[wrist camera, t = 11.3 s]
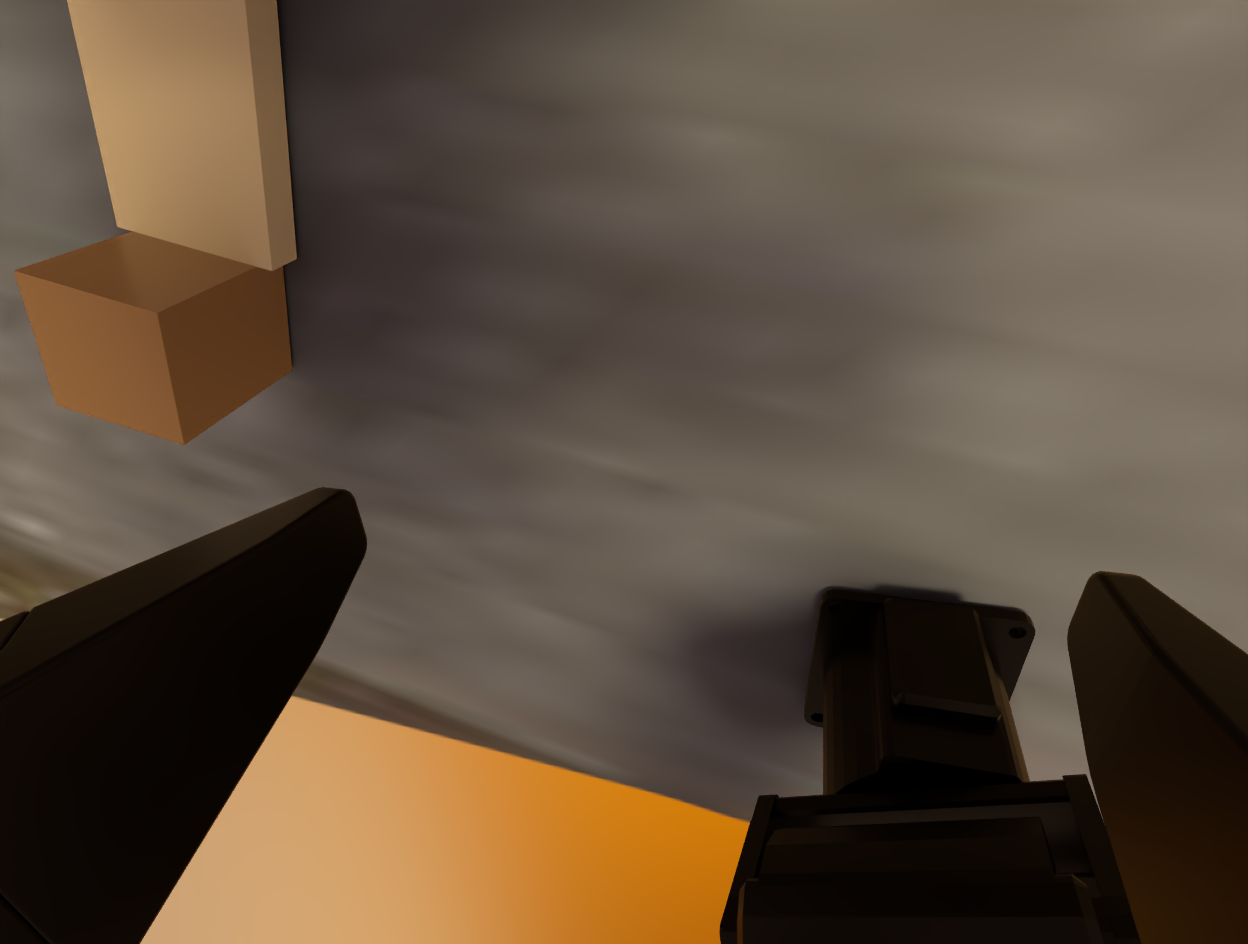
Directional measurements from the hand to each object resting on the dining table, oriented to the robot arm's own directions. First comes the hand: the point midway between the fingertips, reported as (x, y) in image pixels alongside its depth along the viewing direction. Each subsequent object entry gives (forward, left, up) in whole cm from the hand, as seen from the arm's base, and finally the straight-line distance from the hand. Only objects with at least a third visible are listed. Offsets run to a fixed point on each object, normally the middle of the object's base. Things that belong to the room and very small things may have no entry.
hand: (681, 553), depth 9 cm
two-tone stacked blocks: (+4, +15, -12) cm, 20 cm away
